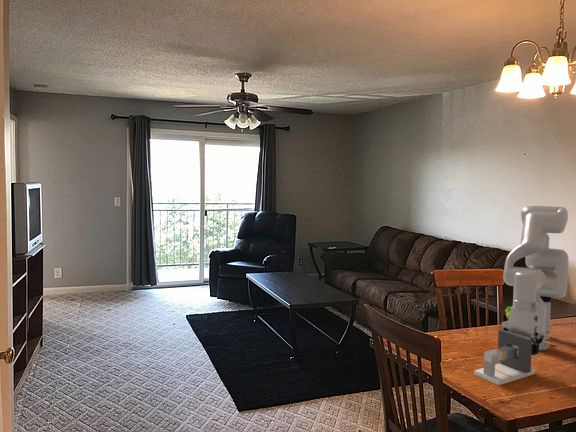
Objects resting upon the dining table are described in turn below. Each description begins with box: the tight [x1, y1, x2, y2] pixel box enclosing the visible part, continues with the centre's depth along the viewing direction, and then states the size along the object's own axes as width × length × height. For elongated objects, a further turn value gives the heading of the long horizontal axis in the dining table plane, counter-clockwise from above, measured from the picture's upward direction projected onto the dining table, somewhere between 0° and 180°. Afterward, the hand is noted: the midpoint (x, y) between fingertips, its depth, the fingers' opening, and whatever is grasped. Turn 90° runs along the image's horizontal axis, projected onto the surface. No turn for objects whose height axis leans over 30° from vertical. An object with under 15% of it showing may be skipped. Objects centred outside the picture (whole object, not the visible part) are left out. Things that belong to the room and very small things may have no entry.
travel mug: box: [540, 296, 552, 336], centre depth 206 cm, size 6×7×20 cm
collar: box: [497, 329, 532, 373], centre depth 167 cm, size 2×12×12 cm, turn 28°
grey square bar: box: [483, 345, 519, 363], centre depth 165 cm, size 19×3×3 cm, turn 119°
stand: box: [473, 356, 536, 386], centre depth 165 cm, size 20×10×6 cm, turn 119°
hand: (522, 350), depth 170 cm, fingers open, 9 cm apart
